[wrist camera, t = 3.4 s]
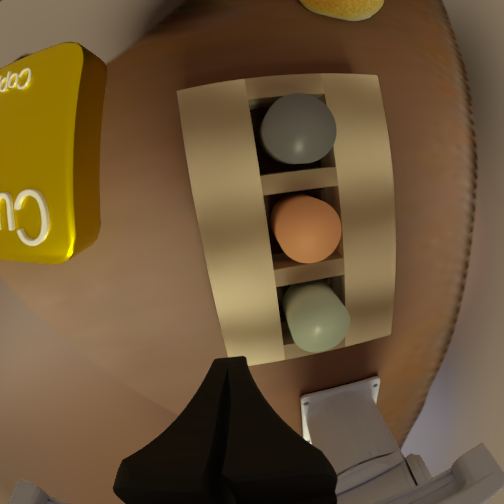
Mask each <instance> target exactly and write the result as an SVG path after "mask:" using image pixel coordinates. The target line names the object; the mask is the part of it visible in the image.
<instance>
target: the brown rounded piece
mask: <svg viewBox="0 0 504 504" xmlns="http://www.w3.org/2000/svg"><path fill="white" fill-rule="evenodd" d="M270 225H271V229H272V232H273V234H274V235H275V237H276V239H277V241H278V242H279V244H280V246H281V248H282V249H283V251H284V252H285V253H286V254H287V255H288V256H289V257H290V258H291V259H293V260H295V261H297V262H300V263H316V262H319V261H322V260H323V259H325V258H327V257H328V256H329V255H330V254H332V252H333V251H334V250H335V249H336V247H337V245H338V243H339V241H340V237H341V222H340V219H339V216H338V214H337V213H336V211H335V210H334V209H333V208H332V207H331V206H330V205H329V204H327V203H326V202H324V201H321V200H319V199H316V198H314V197H311V196H309V195H306V194H302V193H292V194H289V195H286V196H284V197H283V198H281V199H280V200H279V201H278V202H277V203H276V204H275V206H274V207H273V209H272V212H271V216H270Z"/></svg>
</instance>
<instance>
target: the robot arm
mask: <svg viewBox="0 0 504 504" xmlns="http://www.w3.org/2000/svg"><path fill="white" fill-rule="evenodd" d="M374 384H375V385H374ZM379 385H380V378H379V377H378V376H375V377H371V378H368V379H365V380H361V381H358V382H354V383H351V384H347V385H343V386H339V387H335V388H331V389H327V390H323V391H319V392H314V393H310V394H305V395H303V396H301V398H300V403H301V417H302V432H303V438H302V437H301V436H300V435H299V434H297V433H296V432H295V431H294V430H293V429H292V428H291V427H290V426H288V425H287V424H286V423H285V422H284V421H283V420H282V419H281V418H280V417H279V415H278V414H277V413H276V412H275V411H274V410H273V408H272V407H271V406H270V405H269V403H268V402H267V401H266V399H265V398H264V396H263V395H262V393H261V392H260V390H259V389H258V387H257V385H256V383H255V381H254V380H253V378H252V376H251V373H250V371H249V368H248V364H247V359H246V357H245V356H237V357H228V358H219V359H215V360H214V361H213V363H212V365H211V367H210V369H209V371H208V373H207V375H206V377H205V379H204V381H203V382H202V384H201V386H200V387H199V389H198V391H197V392H196V394H195V395H194V397H193V398H192V399H191V401H190V402H189V404H188V405H187V407H186V408H185V409H184V410H183V412H182V413H181V414H180V415H179V416H178V417H177V419H176V420H175V421H174V422H173V423H172V424H171V425H170V426H169V427H168V428H167V429H166V430H165V431H164V432H163V433H162V434H160V435H159V436H158V437H157V438H155V439H154V440H153V441H152V442H150V443H149V444H148V445H146V446H145V447H143V448H142V449H141V450H139V451H137V452H136V453H134V454H132V455H130V456H129V457H127V458H125V459H123V460H122V462H121V465H120V467H119V469H118V472H117V475H116V479H115V483H114V486H113V490H114V493H115V494H116V495H117V496H118V497H119V498H120V499H121V500H122V501H123V502H124V503H126V504H485V503H486V502H488V501H489V500H490V499H491V498H492V497H493V496H495V495H496V494H497V493H498V492H499V491H500V490H501V489H502V488H504V472H503V471H502V469H501V468H500V466H499V465H498V463H497V462H496V460H495V459H494V458H493V456H492V455H491V453H490V452H489V450H488V449H487V447H486V446H485V445H484V443H481V444H479V445H478V446H476V447H475V448H473V449H471V450H470V451H468V452H467V453H465V454H463V455H462V456H461V457H459V458H458V459H457V460H456V461H455V462H454V463H453V465H452V467H451V468H450V469H449V470H447V471H445V472H443V473H441V474H439V475H437V476H435V477H434V478H433V477H432V476H431V474H430V472H429V470H428V468H427V467H426V465H425V463H424V461H423V459H422V458H421V456H420V455H414V454H410V455H408V456H407V457H406V458H405V457H404V455H403V454H402V453H401V451H400V449H399V447H398V445H397V443H396V441H395V439H394V437H393V435H392V433H391V431H390V430H389V428H388V426H387V424H386V422H385V420H384V418H383V416H382V414H381V413H380V411H379V409H378V407H377V405H376V401H377V396H378V390H379ZM305 402H306V403H305ZM8 504H70V503H67V502H64V501H61V500H59V499H56V498H54V497H51V496H49V495H48V494H47V493H46V492H45V491H44V490H42V489H41V488H40V487H38V486H36V485H34V484H32V483H30V482H28V481H26V480H23V479H21V478H20V479H19V481H18V483H17V485H16V487H15V489H14V492H13V494H12V496H11V498H10V501H9V503H8Z"/></svg>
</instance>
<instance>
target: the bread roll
mask: <svg viewBox="0 0 504 504" xmlns="http://www.w3.org/2000/svg"><path fill="white" fill-rule="evenodd" d="M299 1H300V2H301V4H303V5H304V6H305V7H306V8H307V9H308V10H310V11H312V12H314V13H317V14H320V15H324V16H329V17H334V18H338V19H343V20H348V21H359V20H364V19H367V18H369V17H371V16H372V15H374V14H375V13H376V12H377V11H378V10H379V9H380V8H381V7H382V5H383V3H384V0H299Z"/></svg>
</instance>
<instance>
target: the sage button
mask: <svg viewBox="0 0 504 504" xmlns="http://www.w3.org/2000/svg"><path fill="white" fill-rule="evenodd" d="M282 305H283V310H284V313H285V316H286V319H287V322H288V325H289V328H290V331H291V335H292V338H293V340H294V342H295V343H296V345H297V346H298V347H300V348H301V349H303V350H305V351H308V352H323V351H326V350H329V349H331V348H333V347H335V346H336V345H337V344H339V343H340V342H341V341H342V340H343V339H344V337H345V336H346V334H347V332H348V330H349V327H350V315H349V312H348V311H347V309H346V308H345V306H344V305H343V304H342V302H341V301H340V300H339V298H338V297H337V296H336V294H335V293H334V292H333V290H332V289H331V288H330V286H329V285H328V284H327V283H326V282H325V281H323V280H321V279H318V280H313V281H307V282H302V283H296V284H292V285H291V286H290V287H289V288H288V289H287V291H286V292H285V294H284V297H283V303H282Z"/></svg>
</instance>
